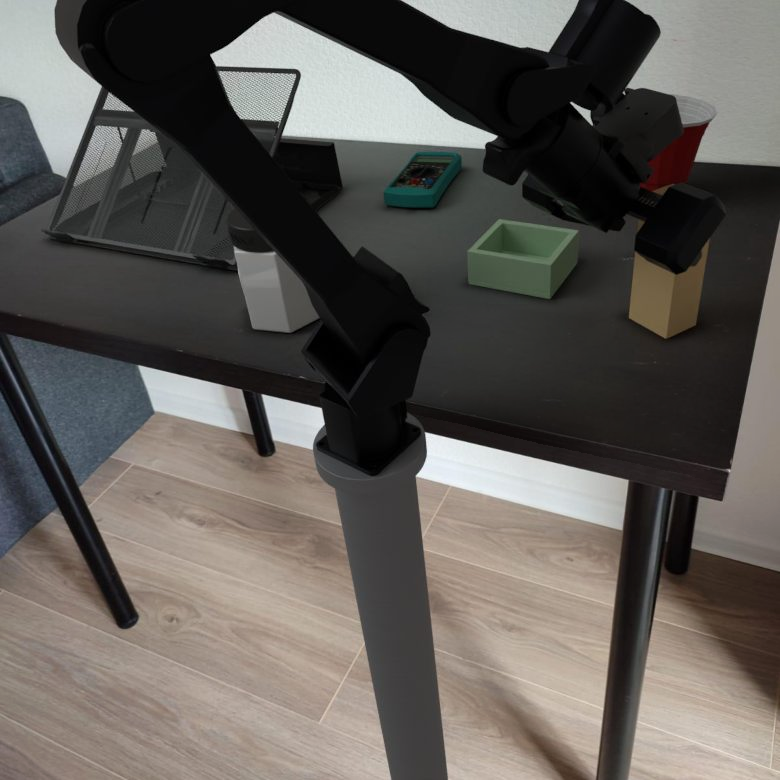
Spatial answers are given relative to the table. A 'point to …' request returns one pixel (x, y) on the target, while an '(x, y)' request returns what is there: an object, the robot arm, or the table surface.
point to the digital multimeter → (423, 180)
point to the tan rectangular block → (666, 293)
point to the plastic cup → (681, 144)
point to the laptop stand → (181, 180)
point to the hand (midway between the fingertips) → (657, 242)
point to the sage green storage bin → (523, 258)
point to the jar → (268, 282)
